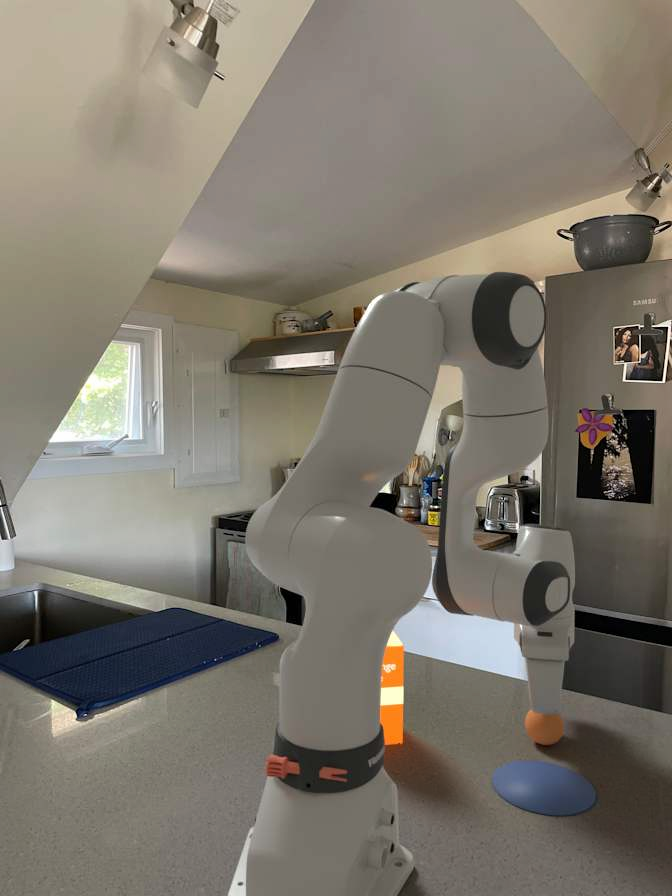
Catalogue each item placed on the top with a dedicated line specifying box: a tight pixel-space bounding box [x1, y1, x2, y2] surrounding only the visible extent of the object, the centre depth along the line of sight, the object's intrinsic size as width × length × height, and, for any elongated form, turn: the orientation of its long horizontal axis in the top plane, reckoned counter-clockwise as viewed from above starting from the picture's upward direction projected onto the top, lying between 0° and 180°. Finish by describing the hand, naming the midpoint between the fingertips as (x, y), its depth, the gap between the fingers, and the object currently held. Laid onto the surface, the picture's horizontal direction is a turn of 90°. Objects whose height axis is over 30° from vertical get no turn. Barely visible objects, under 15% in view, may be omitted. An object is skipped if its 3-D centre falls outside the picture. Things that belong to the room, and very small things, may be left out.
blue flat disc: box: [491, 760, 597, 817], centre depth 91 cm, size 13×13×1 cm
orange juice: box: [380, 630, 405, 746], centre depth 106 cm, size 8×9×20 cm
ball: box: [524, 709, 565, 746], centre depth 103 cm, size 6×6×6 cm
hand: (542, 717), depth 107 cm, fingers closed
